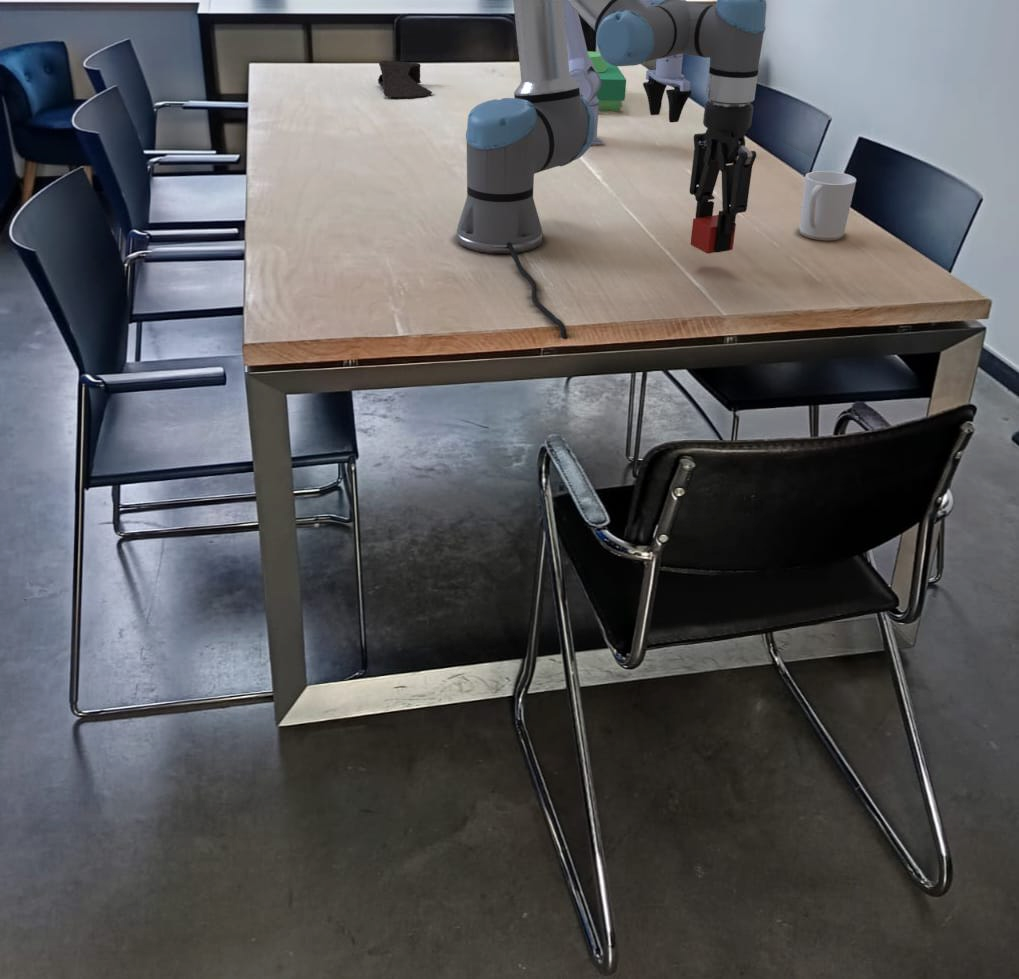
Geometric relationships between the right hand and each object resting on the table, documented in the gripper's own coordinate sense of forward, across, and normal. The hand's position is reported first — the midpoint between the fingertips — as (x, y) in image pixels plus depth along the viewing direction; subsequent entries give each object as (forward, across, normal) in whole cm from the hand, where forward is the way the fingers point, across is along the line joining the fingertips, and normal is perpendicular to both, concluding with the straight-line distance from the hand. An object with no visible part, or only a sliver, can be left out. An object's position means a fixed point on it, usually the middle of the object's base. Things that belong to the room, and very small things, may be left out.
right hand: (664, 118), depth 250 cm
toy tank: (+7, +52, -10) cm, 53 cm away
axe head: (+7, +79, +31) cm, 85 cm away
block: (+3, -70, +38) cm, 80 cm away
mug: (+7, -64, +9) cm, 65 cm away
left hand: (+3, -70, +38) cm, 80 cm away
